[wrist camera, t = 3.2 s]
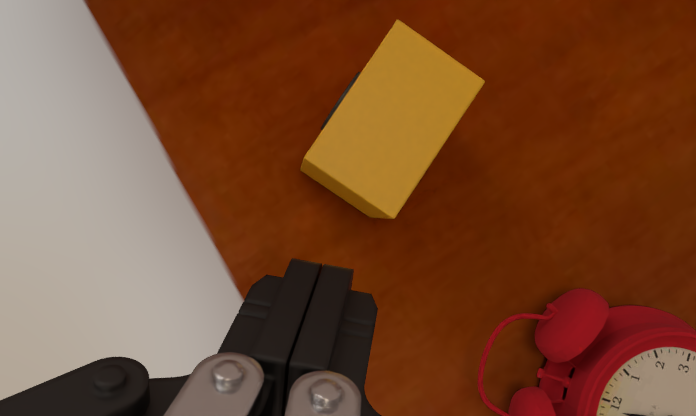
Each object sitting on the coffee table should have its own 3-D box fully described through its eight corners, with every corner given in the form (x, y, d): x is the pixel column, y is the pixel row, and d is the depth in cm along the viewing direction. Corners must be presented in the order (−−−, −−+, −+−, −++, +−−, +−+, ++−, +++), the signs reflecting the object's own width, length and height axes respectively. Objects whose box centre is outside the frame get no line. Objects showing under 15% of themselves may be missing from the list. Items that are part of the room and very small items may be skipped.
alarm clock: (748, 561, 30) (503, 508, 25) (650, 495, 36) (437, 442, 31) (813, 362, 30) (584, 273, 26) (705, 329, 36) (503, 252, 32)
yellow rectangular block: (370, 217, 32) (394, 219, 25) (296, 167, 32) (298, 155, 25) (447, 102, 32) (491, 73, 25) (374, 51, 32) (399, 7, 25)
